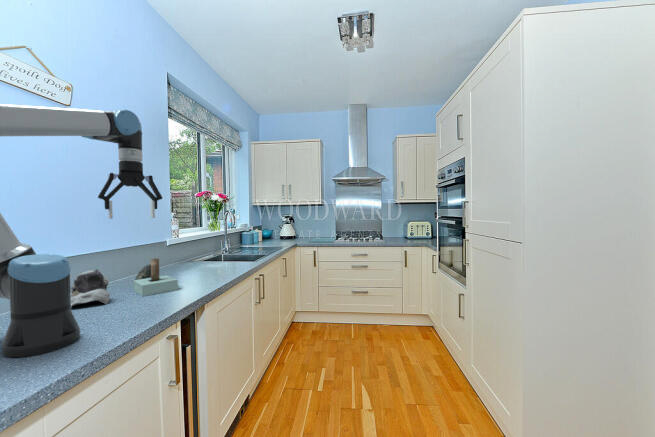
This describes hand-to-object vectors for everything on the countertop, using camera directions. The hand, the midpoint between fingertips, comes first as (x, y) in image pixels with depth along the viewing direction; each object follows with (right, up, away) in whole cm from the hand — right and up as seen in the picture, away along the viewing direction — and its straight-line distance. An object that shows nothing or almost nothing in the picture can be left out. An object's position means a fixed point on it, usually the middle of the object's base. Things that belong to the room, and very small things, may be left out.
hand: (132, 218), depth 113 cm
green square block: (-4, -32, +22) cm, 39 cm away
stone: (-18, -33, +2) cm, 38 cm away
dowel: (-4, -32, +22) cm, 39 cm away
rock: (-15, -32, +32) cm, 48 cm away
